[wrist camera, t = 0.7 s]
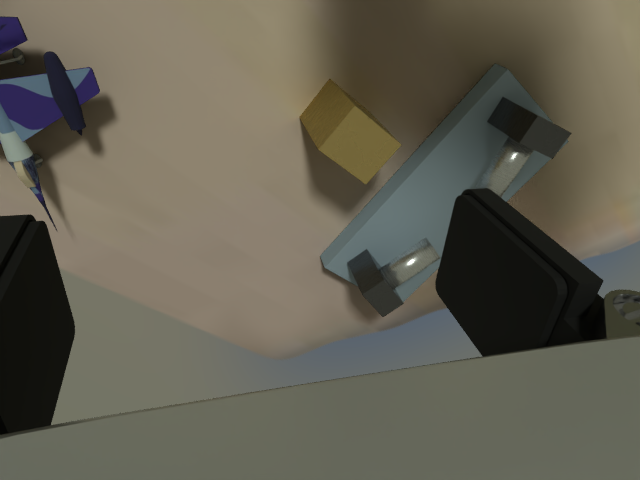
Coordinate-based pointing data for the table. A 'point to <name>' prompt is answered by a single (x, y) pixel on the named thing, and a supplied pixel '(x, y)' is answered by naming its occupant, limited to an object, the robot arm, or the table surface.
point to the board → (435, 182)
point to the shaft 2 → (519, 143)
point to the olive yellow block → (348, 132)
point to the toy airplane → (37, 104)
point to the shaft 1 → (390, 274)
